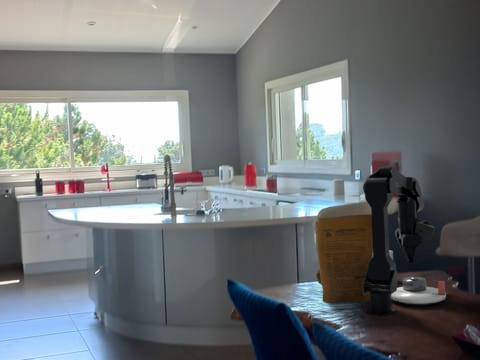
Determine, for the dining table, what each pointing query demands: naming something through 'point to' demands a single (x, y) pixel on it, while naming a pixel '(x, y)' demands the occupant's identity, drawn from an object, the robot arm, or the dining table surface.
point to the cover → (414, 284)
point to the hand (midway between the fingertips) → (409, 261)
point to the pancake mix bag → (344, 256)
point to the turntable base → (418, 304)
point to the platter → (421, 295)
